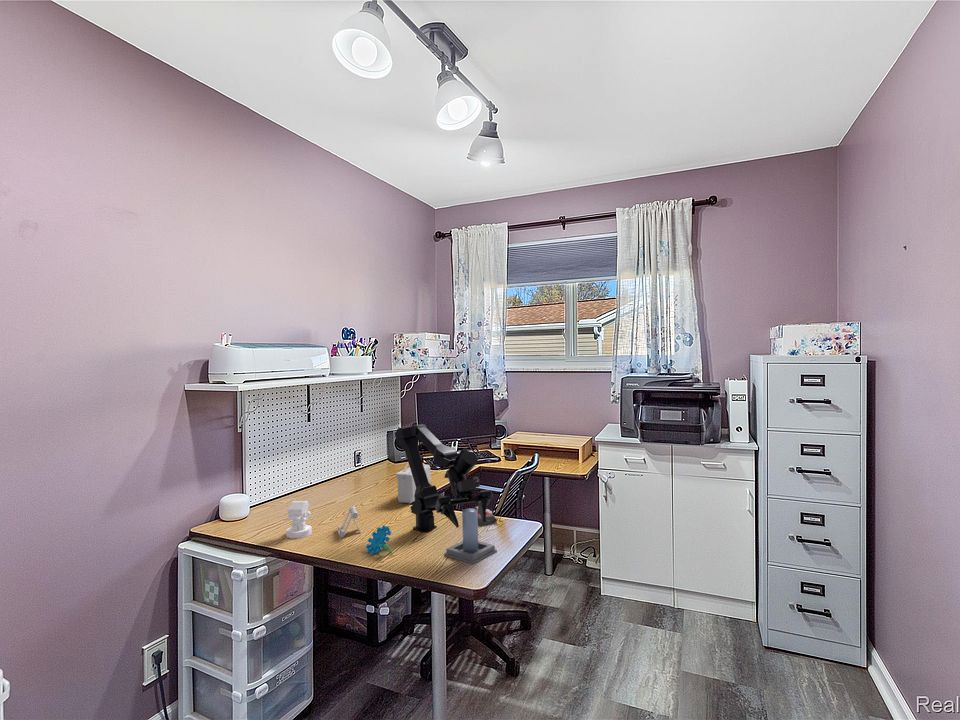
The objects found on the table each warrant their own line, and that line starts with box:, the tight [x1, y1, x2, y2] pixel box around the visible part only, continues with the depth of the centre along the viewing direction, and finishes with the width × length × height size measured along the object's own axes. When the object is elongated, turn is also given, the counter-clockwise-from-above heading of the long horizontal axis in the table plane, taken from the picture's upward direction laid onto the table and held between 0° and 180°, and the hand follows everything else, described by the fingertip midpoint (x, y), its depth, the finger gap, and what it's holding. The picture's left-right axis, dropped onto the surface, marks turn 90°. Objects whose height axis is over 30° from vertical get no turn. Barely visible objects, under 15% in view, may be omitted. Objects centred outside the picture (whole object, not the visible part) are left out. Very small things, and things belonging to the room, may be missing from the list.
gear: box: [365, 525, 394, 556], centre depth 161 cm, size 11×6×10 cm
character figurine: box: [285, 500, 313, 539], centre depth 178 cm, size 9×10×12 cm
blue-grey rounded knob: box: [461, 507, 479, 554], centre depth 157 cm, size 5×5×13 cm
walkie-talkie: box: [473, 505, 498, 526], centre depth 193 cm, size 9×4×20 cm
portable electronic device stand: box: [336, 505, 362, 539], centre depth 179 cm, size 9×8×8 cm
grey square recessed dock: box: [443, 540, 498, 565], centre depth 157 cm, size 12×12×2 cm
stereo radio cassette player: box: [395, 462, 432, 504], centre depth 223 cm, size 21×8×20 cm, turn 162°
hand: (471, 524), depth 155 cm, fingers open, 9 cm apart
